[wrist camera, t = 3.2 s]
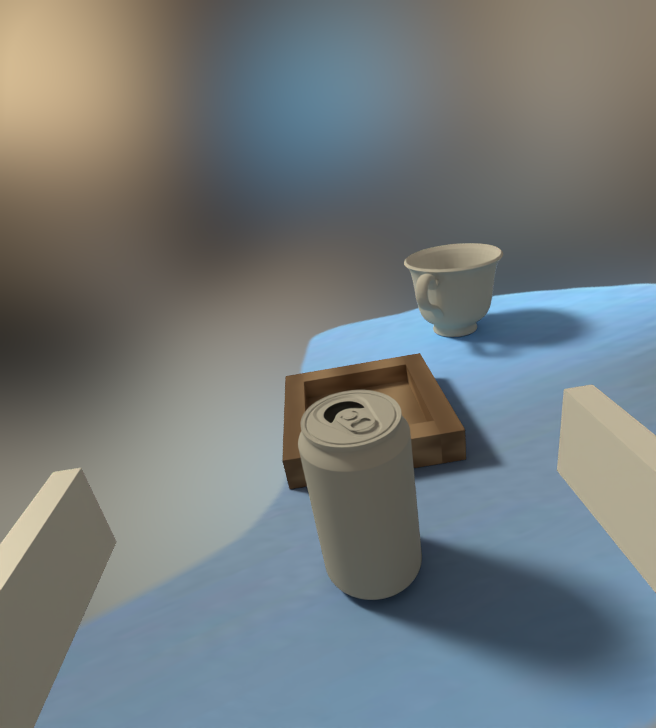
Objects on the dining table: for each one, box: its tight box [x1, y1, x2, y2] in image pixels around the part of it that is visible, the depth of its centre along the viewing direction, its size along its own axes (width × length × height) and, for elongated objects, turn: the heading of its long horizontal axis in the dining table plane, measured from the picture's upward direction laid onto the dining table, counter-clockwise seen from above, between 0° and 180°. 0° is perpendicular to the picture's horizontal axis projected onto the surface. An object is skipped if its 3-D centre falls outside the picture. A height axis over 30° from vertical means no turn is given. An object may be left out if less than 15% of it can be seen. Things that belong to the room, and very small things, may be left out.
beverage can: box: [298, 390, 422, 600], centre depth 28 cm, size 6×6×12 cm
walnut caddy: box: [283, 353, 466, 489], centre depth 45 cm, size 15×15×3 cm
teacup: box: [404, 243, 503, 337], centre depth 59 cm, size 12×15×10 cm
